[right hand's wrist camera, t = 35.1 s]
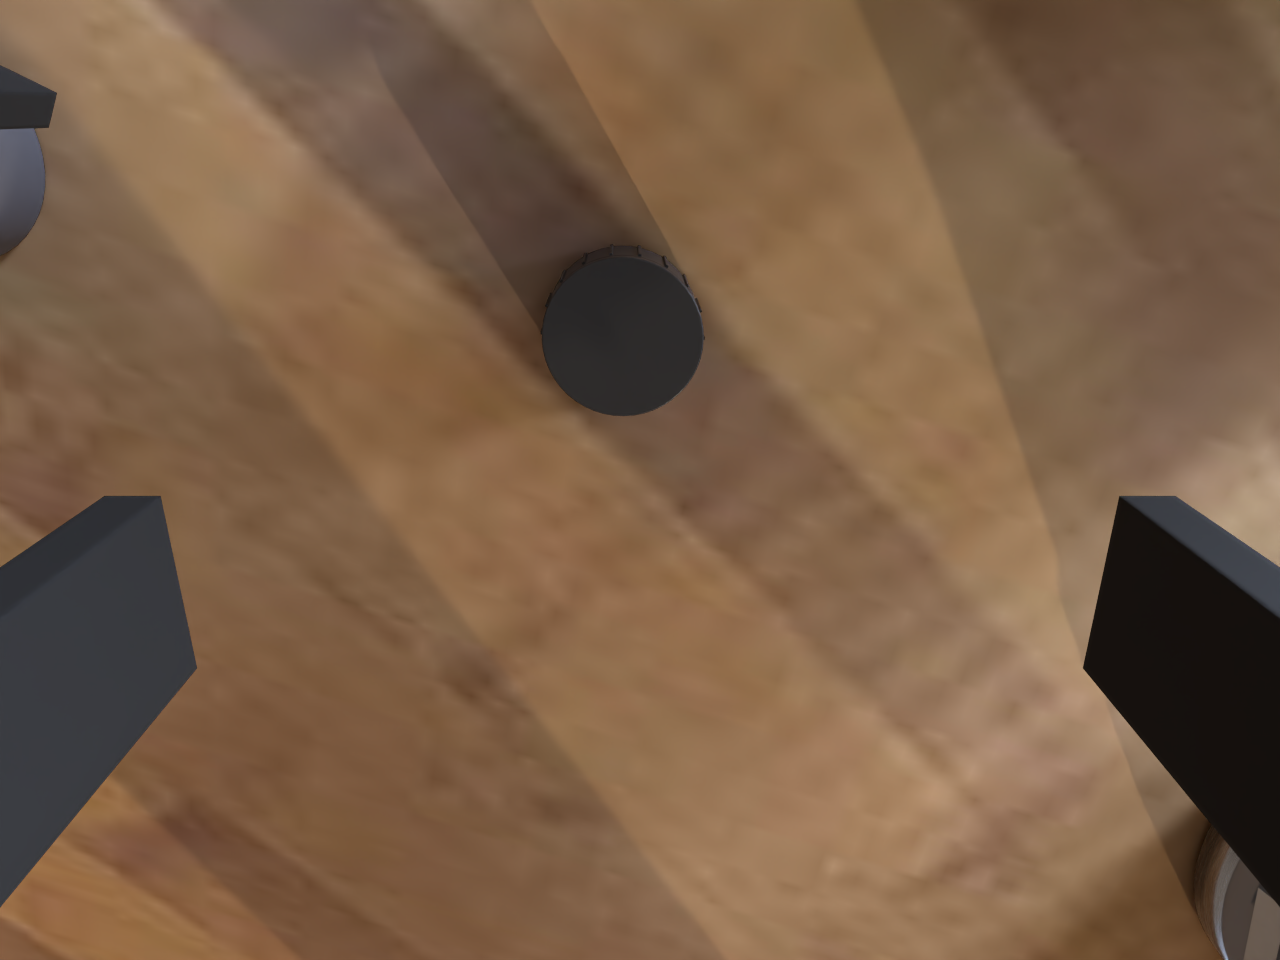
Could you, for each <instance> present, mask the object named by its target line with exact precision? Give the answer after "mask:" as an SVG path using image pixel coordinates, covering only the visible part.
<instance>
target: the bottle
mask: <svg viewBox="0 0 1280 960" xmlns="http://www.w3.org/2000/svg"><path fill="white" fill-rule="evenodd" d="M44 190H45V169H44V161H43V155H42V151H41V148H40V144H39V140H38V138H37V135H36V133H35V130H34V128H28V129H2V130H0V255H2V254H4V253H7V252H8V251H10V250H11V249H12V248H14V247H15V246H17V245H18V244H19V243H20V242H21V241H22V240H23V239H24V238H25V237H26V236H27V234H28V233H29V231H30V230H31V228H32V227H33V226H34V224H35V221H36V219H37V217H38V215H39V213H40V209H41V206H42V203H43V198H44Z"/></svg>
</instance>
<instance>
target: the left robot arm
mask: <svg viewBox="0 0 1280 960" xmlns="http://www.w3.org/2000/svg"><path fill="white" fill-rule="evenodd" d="M56 95H57V93H56V92H54V91H52V90H50V89H48V88H46V87H44V86H42V85H40V84H38V83H36V82H33V81H31V80H29V79H27V78H25V77H23V76H21V75H19V74H17V73H15V72H13V71H11V70H9V69H7V68H5V67H3V66H1V65H0V130H2V129H28V128H49V124H50V120H51V116H52V111H53V107H54V103H55V99H56Z"/></svg>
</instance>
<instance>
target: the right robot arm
mask: <svg viewBox="0 0 1280 960" xmlns="http://www.w3.org/2000/svg"><path fill="white" fill-rule="evenodd" d="M196 669H197V666H196V661H195V656H194V652H193V647H192V642H191V637H190V633H189V628H188V623H187V619H186V614H185V609H184V604H183V600H182V595H181V590H180V586H179V581H178V576H177V571H176V567H175V562H174V557H173V553H172V548H171V543H170V538H169V534H168V529H167V524H166V519H165V515H164V510H163V505H162V501H161V496H104V497H102V498H101V499H100V500H98V501H97V502H95V503H94V504H92V505H91V506H89V507H88V508H86V509H85V510H83V511H82V512H81V513H79V514H78V515H76V516H75V517H73V518H72V519H70V520H69V521H67V522H66V523H64V524H63V525H62V526H60V527H59V528H57V529H56V530H54V531H53V532H51V533H50V534H48V535H47V536H45V537H44V538H43V539H41V540H40V541H38V542H37V543H35V544H34V545H32V546H31V547H29V548H28V549H26V550H25V551H24V552H22V553H21V554H19V555H18V556H16V557H15V558H13V559H12V560H10V561H9V562H7V563H6V564H5V565H3V566H2V567H0V907H1V906H2V904H3V903H4V902H5V901H6V900H7V898H8V897H9V896H10V895H11V894H12V892H13V891H14V890H15V889H16V887H17V886H18V885H19V884H20V883H21V881H22V880H23V879H24V878H25V877H26V875H27V874H28V873H29V872H30V870H31V869H32V868H33V867H34V866H35V864H36V863H37V862H38V861H39V860H40V858H41V857H42V856H43V855H44V853H45V852H46V851H47V850H48V849H49V847H50V846H51V845H52V844H53V842H54V841H55V840H56V839H57V838H58V836H59V835H60V834H61V833H62V832H63V830H64V829H65V828H66V827H67V825H68V824H69V823H70V822H71V821H72V819H73V818H74V817H75V816H76V815H77V813H78V812H79V811H80V810H81V808H82V807H83V806H84V805H85V804H86V802H87V801H88V800H89V799H90V798H91V796H92V795H93V794H94V793H95V791H96V790H97V789H98V788H99V787H100V785H101V784H102V783H103V782H104V781H105V779H106V778H107V777H108V776H109V774H110V773H111V772H112V771H113V770H114V768H115V767H116V766H117V765H118V764H119V762H120V761H121V760H122V759H123V757H124V756H125V755H126V754H127V753H128V751H129V750H130V749H131V748H132V747H133V745H134V744H135V743H136V742H137V740H138V739H139V738H140V737H141V736H142V734H143V733H144V732H145V731H146V729H147V728H148V727H149V726H150V725H151V723H152V722H153V721H154V720H155V719H156V717H157V716H158V715H159V714H160V712H161V711H162V710H163V709H164V708H165V706H166V705H167V704H168V703H169V702H170V700H171V699H172V698H173V697H174V695H175V694H176V693H177V692H178V691H179V689H180V688H181V687H182V686H183V685H184V683H185V682H186V681H187V680H188V678H189V677H190V676H191V675H192V674H193V672H194V671H195V670H196ZM1083 669H1084V670H1085V671H1086V672H1087V674H1088V675H1089V676H1090V677H1091V678H1092V680H1093V681H1094V682H1095V683H1096V685H1097V686H1098V687H1099V688H1100V689H1101V691H1102V692H1103V693H1104V694H1105V695H1106V697H1107V698H1108V699H1109V700H1110V702H1111V703H1112V704H1113V705H1114V706H1115V708H1116V709H1117V710H1118V711H1119V712H1120V714H1121V715H1122V716H1123V717H1124V719H1125V720H1126V721H1127V722H1128V723H1129V725H1130V726H1131V727H1132V728H1133V729H1134V731H1135V732H1136V733H1137V734H1138V736H1139V737H1140V738H1141V739H1142V740H1143V742H1144V743H1145V744H1146V745H1147V747H1148V748H1149V749H1150V750H1151V751H1152V753H1153V754H1154V755H1155V756H1156V757H1157V759H1158V760H1159V761H1160V762H1161V764H1162V765H1163V766H1164V767H1165V768H1166V770H1167V771H1168V772H1169V773H1170V774H1171V776H1172V777H1173V778H1174V779H1175V781H1176V782H1177V783H1178V784H1179V785H1180V787H1181V788H1182V789H1183V790H1184V791H1185V793H1186V794H1187V795H1188V796H1189V798H1190V799H1191V800H1192V801H1193V802H1194V804H1195V805H1196V806H1197V807H1198V808H1199V810H1200V811H1201V812H1202V813H1203V815H1204V816H1205V817H1206V818H1207V819H1208V821H1209V822H1210V823H1211V824H1212V825H1211V827H1210V828H1209V830H1208V833H1207V835H1206V837H1205V839H1204V842H1203V844H1202V847H1201V850H1200V853H1199V857H1198V860H1197V865H1196V870H1195V878H1194V896H1195V905H1196V909H1197V913H1198V917H1199V920H1200V922H1201V925H1202V927H1203V929H1204V931H1205V933H1206V935H1207V936H1208V938H1209V940H1210V941H1211V943H1212V944H1213V945H1214V947H1215V948H1216V950H1217V951H1218V953H1219V954H1220V955H1221V957H1222V958H1223V960H1280V567H1278V566H1277V565H1275V564H1274V563H1273V562H1271V561H1270V560H1268V559H1267V558H1265V557H1264V556H1262V555H1261V554H1259V553H1258V552H1256V551H1255V550H1254V549H1252V548H1251V547H1249V546H1248V545H1246V544H1245V543H1243V542H1242V541H1240V540H1239V539H1237V538H1236V537H1235V536H1233V535H1232V534H1230V533H1229V532H1227V531H1226V530H1224V529H1223V528H1221V527H1220V526H1218V525H1217V524H1216V523H1214V522H1213V521H1211V520H1210V519H1208V518H1207V517H1205V516H1204V515H1202V514H1201V513H1199V512H1198V511H1197V510H1195V509H1194V508H1192V507H1191V506H1189V505H1188V504H1186V503H1185V502H1183V501H1182V500H1180V499H1179V498H1178V497H1176V496H1119V501H1118V505H1117V510H1116V515H1115V519H1114V524H1113V529H1112V534H1111V538H1110V543H1109V548H1108V553H1107V557H1106V562H1105V567H1104V571H1103V576H1102V581H1101V586H1100V590H1099V595H1098V600H1097V604H1096V609H1095V614H1094V619H1093V623H1092V628H1091V633H1090V637H1089V642H1088V647H1087V652H1086V656H1085V661H1084V666H1083Z"/></svg>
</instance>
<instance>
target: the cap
mask: <svg viewBox="0 0 1280 960" xmlns="http://www.w3.org/2000/svg"><path fill="white" fill-rule="evenodd" d="M545 307H547V309H546V313H545V316H544V320H543V326H542V330H541V334H542V346H543V352H544V356H545V360H546V363H547V365H548V368H549V370H550V372H551V374H552V376H553V377H554V379H555V380H556V382H557V383H558V384H559V386H560V387H561V388H562V389H563V390H564V391H565V392H566V393H567V394H568V395H569V396H570V397H571V398H572V399H574V400H575V401H576V402H578V403H580V404H581V405H583V406H585V407H587V408H589V409H591V410H593V411H596V412H600V413H603V414H608V415H613V416H632V415H638V414H643V413H647V412H650V411H653V410H655V409H657V408H659V407H661V406H663V405H665V404H666V403H668V402H669V401H671V400H672V399H673V398H675V397H676V396H677V395H678V394H679V393H680V392H681V391H682V390H683V389H684V388H685V387H686V386H687V384H688V383H689V381H690V380H691V379H692V377H693V375H694V373H695V371H696V369H697V367H698V364H699V362H700V359H701V354H702V350H703V340H704V339H705V337H704V334H703V324H702V319H701V315H700V312H702V311H701V308H700V305H699V302H698V300H697V298H694V295H693V292H692V290H691V288H690V286H689V283H688V281H687V278H686V276H685V274H683V275H682V274H681V273H680V272H679V271H678V269H677V268H676V267H675V266H673V265H672V264H671V263H670V262H669V261H667V258H666V257H665V256H663V257H661V256H660V255H658V254H656V253H654V252H651V251H648V250H646V249H643V248H641V246H639V245H638V247H633V246H613V244H612V245H610V247H607V248H603V249H600V250H597V251H594V252H592V253H590V254H587V253H585V254H584V256H583V257H582V258H581V259H579V260H578V261H577V262H575V263H574V264H573V265H572V266H571V267H570V268H569V269H568V270H567V271H566V270H564V271H563V273H562V276H561V278H560V280H559V282H558V283H557V285H556V287H555V289H554V292H553V293H550V295H549V298H548V300H547V303H546V305H545Z"/></svg>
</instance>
